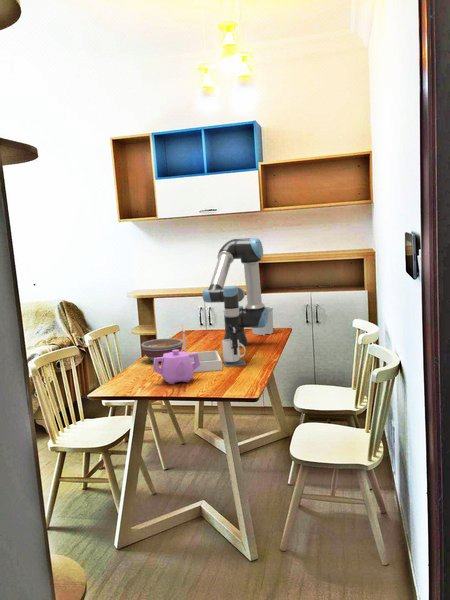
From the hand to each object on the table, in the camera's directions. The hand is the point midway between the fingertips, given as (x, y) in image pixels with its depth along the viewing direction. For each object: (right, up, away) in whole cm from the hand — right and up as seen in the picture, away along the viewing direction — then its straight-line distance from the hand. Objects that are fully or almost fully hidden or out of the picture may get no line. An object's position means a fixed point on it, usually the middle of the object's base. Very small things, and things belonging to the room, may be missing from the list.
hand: (234, 358), depth 297 cm
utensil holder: (+20, +8, +80) cm, 83 cm away
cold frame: (-17, -4, 0) cm, 17 cm away
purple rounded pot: (-27, -8, -27) cm, 40 cm away
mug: (0, -1, 0) cm, 1 cm away
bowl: (-39, -3, +19) cm, 44 cm away
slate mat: (0, -3, 0) cm, 3 cm away
